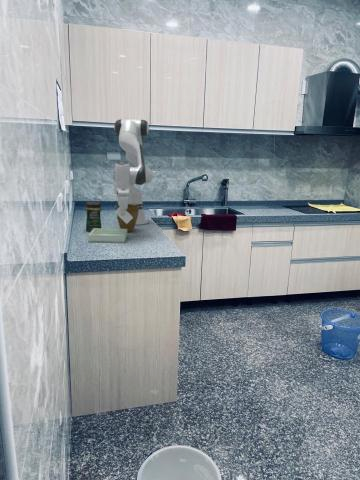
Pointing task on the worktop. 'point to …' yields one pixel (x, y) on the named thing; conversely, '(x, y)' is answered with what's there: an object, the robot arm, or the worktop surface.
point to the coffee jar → (93, 215)
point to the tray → (108, 235)
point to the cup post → (124, 218)
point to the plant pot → (131, 224)
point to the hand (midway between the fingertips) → (122, 215)
